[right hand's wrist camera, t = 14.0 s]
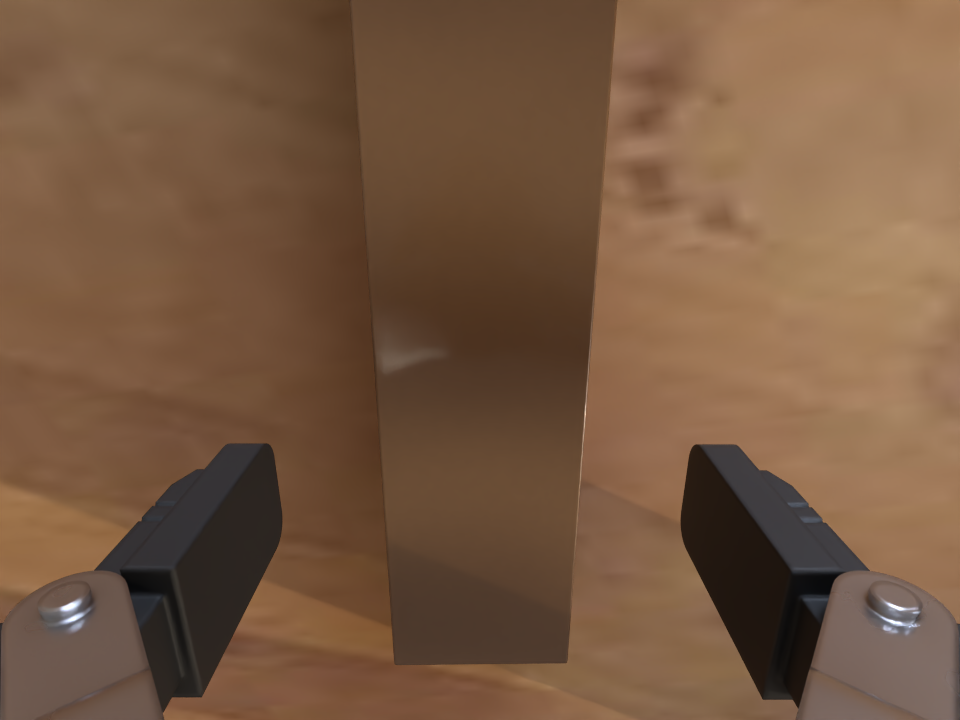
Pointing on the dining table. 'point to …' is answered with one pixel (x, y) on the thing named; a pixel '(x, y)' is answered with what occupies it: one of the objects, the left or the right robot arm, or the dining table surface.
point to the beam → (482, 308)
